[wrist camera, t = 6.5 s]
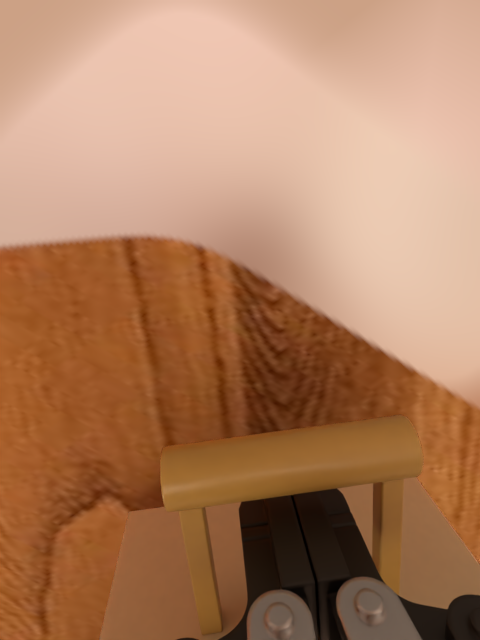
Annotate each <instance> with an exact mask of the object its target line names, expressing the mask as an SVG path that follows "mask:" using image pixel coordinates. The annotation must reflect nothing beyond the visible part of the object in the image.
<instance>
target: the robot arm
mask: <svg viewBox="0 0 480 640" xmlns="http://www.w3.org/2000/svg"><path fill="white" fill-rule="evenodd" d="M239 518H240V528H241V538H242V547H243V557H244V566H245V576H246V585H247V597H248V600H247V607H246V610H245V613H244V615H243V617H242V619H241V621H240V622H239V623H238V625H237V626H236V627H235V628H234V629H233V630H232V631H231V632H230V633H228V634H226V635H225V636H223V637H221V638H220V639H218V640H480V596H479V595H473V594H468V595H461V596H459V597H457V598H455V599H454V600H453V601H452V602H451V603H450V604H449V607H448V609H443V608H438V607H432V606H426V605H421V604H417V603H413V602H411V601H408V600H406V599H404V598H402V597H400V596H399V595H397V594H396V593H395V592H394V591H393V590H392V589H391V588H390V587H389V586H388V585H386V584H385V582H384V581H383V580H382V578H381V576H380V574H379V572H378V570H377V568H376V566H375V564H374V561H373V559H372V557H371V555H370V552H369V550H368V548H367V546H366V544H365V541H364V539H363V537H362V535H361V533H360V530H359V528H358V526H357V525H356V521H355V519H354V517H353V515H352V513H351V512H350V508H349V506H348V504H347V501H346V499H345V497H344V495H343V494H342V493H341V492H340V491H339V490H338V489H337V488H336V489H329V490H322V491H315V492H308V493H301V494H294V495H287V496H280V497H273V498H266V499H259V500H252V501H245V502H241V504H240V507H239ZM177 640H198V639H195V638H188V637H187V638H180V639H177Z"/></svg>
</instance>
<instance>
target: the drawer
mask: <svg viewBox="0 0 480 640" xmlns="http://www.w3.org/2000/svg"><path fill="white" fill-rule="evenodd" d="M422 469H423V452H422V447H421V443H420V440H419V437H418V434H417V432H416V430H415V428H414V426H413V424H412V423H411V421H410V420H409V419H408V418H407V417H406V416H404V415H394V416H387V417H379V418H372V419H364V420H357V421H350V422H342V423H335V424H327V425H320V426H312V427H305V428H298V429H290V430H283V431H275V432H268V433H261V434H253V435H246V436H238V437H231V438H223V439H216V440H209V441H201V442H194V443H186V444H179V445H172V446H165V447H163V449H162V452H161V458H160V483H161V493H162V499H163V503H164V507H159V508H152V509H145V510H138V511H131V512H129V513H128V517H127V522H126V526H125V530H124V535H123V539H122V543H121V548H120V552H119V556H118V560H117V565H116V569H115V573H114V578H113V582H112V586H111V591H110V595H109V599H108V603H107V608H106V612H105V616H104V621H103V625H102V629H101V633H100V638H99V640H177V639H180V638H187V637H188V638H195V639H198V640H218V639H220V638H221V637H223V636H225V635H226V634H228V633H230V632H231V631H232V630H233V629H234V628H235V627H236V626H237V625H238V623H239V622H240V621H241V619H242V617H243V615H244V613H245V610H246V607H247V600H248V597H247V585H246V576H245V566H244V557H243V547H242V538H241V528H240V518H239V507H240V504H241V502H245V501H252V500H259V499H266V498H273V497H280V496H287V495H294V494H301V493H308V492H315V491H322V490H329V489H336V488H337V489H338V490H339V491H340V492H341V493H342V494H343V495H344V497H345V499H346V501H347V504H348V506H349V508H350V512H351V513H352V515H353V517H354V519H355V521H356V525H357V526H358V528H359V530H360V533H361V535H362V537H363V539H364V541H365V544H366V546H367V548H368V550H369V552H370V555H371V557H372V559H373V561H374V564H375V566H376V568H377V570H378V572H379V574H380V576H381V578H382V580H383V581H384V582H385V584H386V585H388V586H389V587H390V588H391V589H392V590H393V591H394V592H395V593H396V594H397V595H399V596H400V597H402V598H404V599H406V600H408V601H411V602H413V603H417V604H421V605H426V606H432V607H438V608H443V609H448V607H449V604H450V603H451V602H452V601H453V600H454V599H455V598H457V597H459V596H461V595H468V594H473V595H479V596H480V564H479V563H478V562H477V560H476V559H475V557H474V556H473V555H472V553H471V552H470V551H469V549H468V548H467V546H466V545H465V544H464V542H463V541H462V540H461V538H460V537H459V535H458V534H457V533H456V531H455V530H454V528H453V527H452V526H451V524H450V523H449V522H448V520H447V519H446V517H445V516H444V515H443V513H442V512H441V511H440V509H439V508H438V506H437V505H436V504H435V502H434V501H433V500H432V498H431V497H430V495H429V494H428V493H427V491H426V490H425V489H424V487H423V486H422V484H421V483H420V482H419V480H418V479H417V478H416V477H418V476H419V475H420V474H421V472H422Z"/></svg>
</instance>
